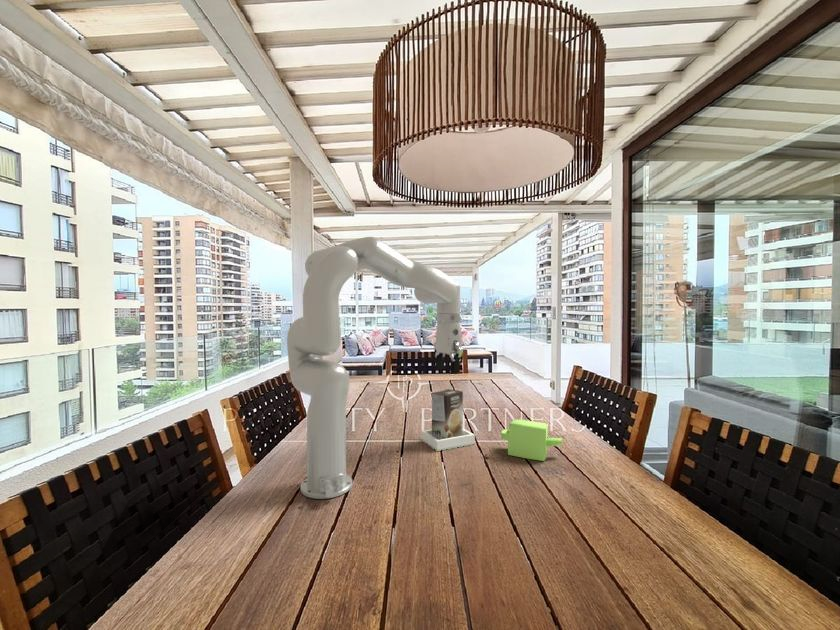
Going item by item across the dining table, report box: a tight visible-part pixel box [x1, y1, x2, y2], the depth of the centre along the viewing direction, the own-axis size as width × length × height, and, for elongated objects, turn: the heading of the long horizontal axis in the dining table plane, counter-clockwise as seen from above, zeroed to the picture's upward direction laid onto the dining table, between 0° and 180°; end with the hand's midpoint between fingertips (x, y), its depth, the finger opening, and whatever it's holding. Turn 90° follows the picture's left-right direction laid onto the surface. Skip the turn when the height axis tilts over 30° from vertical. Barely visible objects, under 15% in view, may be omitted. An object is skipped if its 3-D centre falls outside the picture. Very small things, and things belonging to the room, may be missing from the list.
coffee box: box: [431, 389, 464, 440], centre depth 127 cm, size 9×6×16 cm
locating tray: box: [421, 428, 476, 452], centre depth 127 cm, size 11×14×3 cm
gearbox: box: [500, 418, 564, 462], centre depth 118 cm, size 18×10×10 cm, turn 66°
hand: (447, 371), depth 126 cm, fingers open, 9 cm apart
